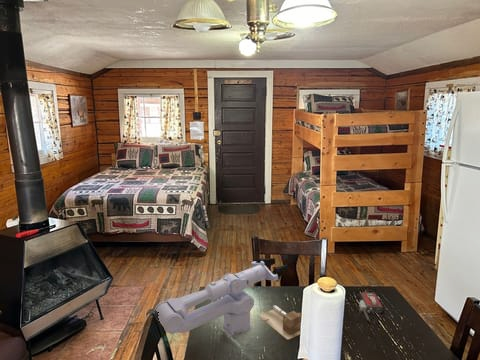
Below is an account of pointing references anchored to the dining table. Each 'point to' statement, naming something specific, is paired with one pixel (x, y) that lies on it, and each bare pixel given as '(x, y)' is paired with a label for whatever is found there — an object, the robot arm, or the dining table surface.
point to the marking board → (277, 321)
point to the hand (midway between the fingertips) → (280, 263)
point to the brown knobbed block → (291, 322)
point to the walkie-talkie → (369, 303)
